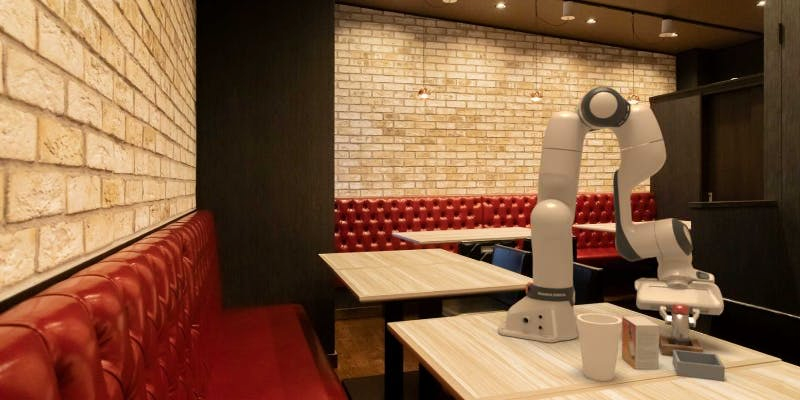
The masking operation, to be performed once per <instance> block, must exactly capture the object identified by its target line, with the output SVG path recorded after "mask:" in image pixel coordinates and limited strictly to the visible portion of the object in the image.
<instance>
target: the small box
mask: <svg viewBox="0 0 800 400" xmlns="http://www.w3.org/2000/svg"><path fill="white" fill-rule="evenodd" d="M621 320H622V332H621V339H622V340H621V358H622V359H623V360H624V361H626V362H627V363H628V364H629V365H630V366H631V367H632V368H633V369H635V370H658V369H659V362H660V361H659V357H660V356H659V353H660V347H659V336H660V325H659V324H656V323H655V322H653V321H652V320H650V319H648V318H647V317H646V316H628V315H627V316H626V315H625V316H622V317H621Z"/></svg>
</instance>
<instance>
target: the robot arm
mask: <svg viewBox="0 0 800 400" xmlns="http://www.w3.org/2000/svg"><path fill="white" fill-rule="evenodd" d="M605 129H608V130H610V131H611V132H612V133H613V134H614V135H615V138H616V139H617V143H618V148H619V150H620V151H619V152H620V164H619V167H618V168H617V169H616V170H615V171H614V174H613V180H612V186H613V187H612V189H613V192H612V193H613V206H614V207H613V208H614V209H613V210H614V221H615V224H614V225H615V238H614V239H615V243H614V244H615V248H616V251H617V254H618V255H619V256H620V257H622V258H623V259H625V260H627V261H629V262H636V261H641V260H645V259H648V258H656V260H657V263H658V266H657V278H656V277H655V278H654V277H650V278H649V277H647V278H646V277H640V278H638V279H636V280H635V281H634V289H635V291H637V292H636V304H635V305H636V307H637V308H638V309H639V310H648V311H649V310H650V311H659V315H660V316H661V317H662V318H663V320H664V325H667V326H671V325H672V320H671V319H672V317H671V315H668V313H667V312H671V305H672V304H685V305H688V306H689V314H692V317H689V328H690V327H692V328H696V325H697V320H698V318H699V317H700V315H711V316H712V315H713V316H716V315H717V316H720V315H721V314H722V313H723V311H724V307H725V305H724V304H725V303H724V300H723V299H724V298H723V295H722V292H721V290H720V288H719V286H718V285H717V284H715V276H714V275H713V274H712V273H709V272H705V271H702V270H699V269H696V268H694V267H693V264H692V262H693V255H692V252H693V249H694V247H693V240H692V233H691V231H690V229H689V227H688V225H687V224H686V223H684V222H683V221H681V220H680V219H677V218H675V217H673V218H671V217H669V218H665V219H664V218H663V219H658V220H654V221H650V222H642V223H637V224H636V223H633V222H632V221H633V220H632V219H633V218H632V206H631V204H632V202H631V195H632V192H633V191H634V189H636V187H637V186H638V185H640V184H641V183H643V182H644V181H647V179H649V178H652V177H653V176H654V175H655V174H656V173H658V172H659V171H660V170H661V169H662V167H663V166H664V164H665V162H666V160H667V152H666V146H665V141H664V137H663V134H662V131H661V128H660V125H659V123H658V120H657V118H656V116H655V114H654V112H653V110H652V108H650V107H649V106H647V105H645V104H632V105H631V104H630V102H628V100H626V99H625V97H624V96H622V95H621V94H620V93H619V92H618V91H617V90H615V89H614V88H612V87H610V86H597V87H595V88H592V89H590V90H589V91H587V92H586V93H585V94H584V95H583V96H582V98H581V99H580V100H579V102H578V104H577V105H576V107H575V108H573V110H561V111H558V112H555V113H553V114H552V115H551V116H550V117H549V119H548V122H547V125H546V128H545V132H544V137H543V142H542V148H541V155H540V162H539V170H538V181H537V182H538V186H537V200H536V205H535V206H534V207H533V209H532V211H531V213H530V236H531V238H530V239H531V249H532V282H531V281H530V282H527V283H526V285H525V295H526V296H524V297H523V298H522V299H519V301H517V302H515V304H513V305H512V306H510V308H509V309H508V310H507V314H506V318H505V321H503V322H501V323H500V324H499V325H498V329H497V331H498V334H500V335H501V336H502V335H503V336H507V337H512V338H513V337H514V338H519V339H524V340H525V339H526V340H530V341H536V342H537V341H538V342H542V343H543V342H544V343H556V342H559V341H560V342H561V341H570V340H574V339H576V338H579V331H578V328H577V321H576V318H575V311H574V309H575V308H574V306H575V303H576V291H575V286H574V280H573V279H574V278H573V277H574V276H573V275H574V255H573V254H574V253H573V224H574V221H575V217H576V216H575V214H576V208H577V207H576V206H577V197H578V188H579V179H580V172H581V166H582V160H583V159H582V157H583V150H584V144H585V143H584V142H585V138H586V136H587V134H588V133H589V132H595V131H600V130H605Z"/></svg>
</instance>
